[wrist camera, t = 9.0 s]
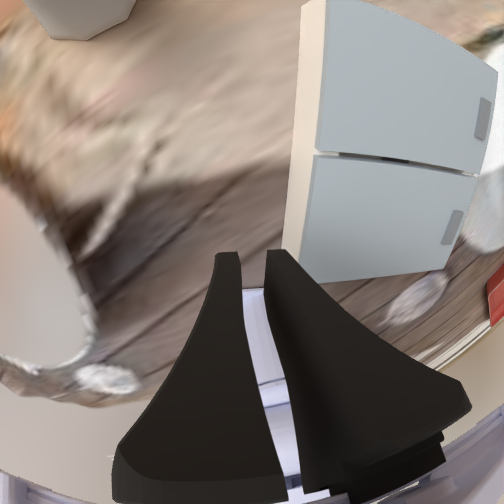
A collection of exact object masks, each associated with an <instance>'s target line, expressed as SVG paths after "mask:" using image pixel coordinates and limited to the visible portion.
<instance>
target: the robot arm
mask: <svg viewBox="0 0 504 504" xmlns="http://www.w3.org/2000/svg"><path fill="white" fill-rule="evenodd" d="M471 408H472V405H471V403H470V401H469V398H468V396H467V394H466V392H465V390H464V388H463V386H462V384H461V382H460V381H458V380H456V379H454V378H451V377H449V376H447V375H445V374H442V373H440V372H438V371H436V370H434V369H431V368H429V367H428V366H426V365H424V364H422V363H420V362H418V361H417V360H415V359H413V358H411V357H409V356H408V355H406V354H404V353H403V352H401V351H399V350H398V349H396V348H395V347H393V346H392V345H390V344H389V343H387V342H386V341H384V340H383V339H381V338H380V337H378V336H377V335H376V334H374V333H373V332H372V331H370V330H369V329H368V328H366V327H365V326H364V325H363V324H361V323H360V322H359V321H357V320H356V319H355V318H354V317H353V316H351V315H350V314H349V313H348V312H347V311H345V310H344V309H343V308H342V307H341V306H340V305H339V304H338V303H337V302H336V301H335V300H333V299H332V298H331V297H330V296H329V295H328V294H327V293H326V292H325V291H324V290H323V289H322V288H321V287H320V286H319V285H318V284H317V283H316V282H315V281H314V279H313V278H312V277H311V276H310V275H309V274H308V273H307V272H306V271H305V270H304V269H303V268H302V267H301V265H300V264H299V263H298V262H297V261H296V260H295V259H294V258H293V257H292V256H291V254H290V253H289V252H288V251H287V250H286V249H276V250H267V259H266V269H265V280H264V288H255V289H242V276H241V264H240V260H239V256H238V253H237V252H222V253H218V254H216V255H215V264H214V270H213V274H212V278H211V282H210V285H209V288H208V291H207V294H206V297H205V300H204V303H203V306H202V308H201V310H200V313H199V315H198V318H197V320H196V323H195V325H194V327H193V329H192V332H191V334H190V336H189V338H188V340H187V342H186V344H185V346H184V348H183V350H182V352H181V353H180V355H179V357H178V359H177V361H176V362H175V364H174V366H173V368H172V369H171V371H170V373H169V374H168V376H167V378H166V379H165V381H164V382H163V384H162V385H161V387H160V388H159V390H158V391H157V393H156V394H155V396H154V397H153V399H152V400H151V402H150V403H149V405H148V406H147V408H146V409H145V410H144V412H143V413H142V415H141V416H140V417H139V418H138V420H137V421H136V422H135V423H134V425H133V426H132V427H131V428H130V430H129V431H128V432H127V434H126V435H125V436H124V437H123V438H122V440H121V441H120V442H119V444H118V445H117V449H116V452H115V456H114V461H113V467H112V499H113V500H114V501H115V502H117V503H121V504H370V503H372V502H374V501H377V500H380V499H382V498H384V497H386V496H389V495H390V496H389V497H387V498H385V499H383V500H382V501H380V502H378V503H377V504H496V503H497V502H498V500H499V499H500V497H501V496H502V494H503V493H504V404H503V405H501V406H500V407H498V408H497V409H495V410H494V411H493V412H491V413H490V414H489V415H487V416H486V417H485V418H483V419H482V420H481V421H479V422H478V423H477V424H476V426H475V427H473V428H472V429H470V430H469V431H467V432H466V433H464V434H463V435H461V436H460V437H458V438H457V439H455V440H454V441H452V442H451V443H449V444H448V445H446V446H444V447H443V448H442V447H441V445H440V442H442V441H444V436H443V433H442V430H444V429H445V428H447V427H448V426H450V425H452V424H453V423H454V422H456V421H457V420H459V419H460V418H462V417H463V416H464V415H466V414H467V413H468V412H469V411H471ZM417 481H419V483H418V485H416V486H413V487H410V488H407V489H405V490H401V489H403V488H405V487H407V486H409V485H411V484H413V483H415V482H417ZM399 490H401V491H399ZM397 491H399V492H397ZM395 492H396V493H395ZM393 493H394V494H393ZM391 494H392V495H391ZM0 504H95V503H90V502H87V501H83V500H79V499H76V498H72V497H69V496H66V495H62V494H59V493H56V492H53V491H52V490H51V489H48V488H46V487H43V486H40V485H38V484H35V483H33V482H30V481H28V480H25V479H23V478H20V477H16V476H14V475H11V474H9V473H7V472H5V471H3V470H1V469H0Z"/></svg>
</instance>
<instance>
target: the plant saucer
mask: <svg viewBox="0 0 504 504" xmlns="http://www.w3.org/2000/svg"><path fill="white" fill-rule="evenodd" d="M487 296H488V305H489V316H490V327H493V326H494V325H495V324H496V323H497V322H498V321H499V320H500V319H501V318H502V317H503V316H504V263H503V265H502V266H501V267H500V268H499V269H498V270H497V271H496V272H495V273H494V274H493V275H492V277H491V278H490V279H489V280H488V281H487Z"/></svg>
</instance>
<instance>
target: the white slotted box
mask: <svg viewBox="0 0 504 504" xmlns="http://www.w3.org/2000/svg"><path fill="white" fill-rule="evenodd" d="M325 6H326V0H311V1H309V2H308V3H306V4H304V5H303V6H301V23H300V43H299V60H298V76H297V90H296V103H295V116H294V128H293V140H292V151H291V162H290V172H289V182H288V192H287V202H286V211H285V220H284V229H283V238H282V246H281V248H282V249H286V250H287V251H288V252H289V253H290V254H291V256H292V257H293V258H294V259H295V260H296V261H297V262H298V258H299V252H300V246H301V240H302V234H303V227H304V221H305V214H306V208H307V201H308V194H309V186H310V179H311V171H312V163H313V155H314V154H315V155H331V156H344V157H355V158H366V159H375V160H383V161H391V162H399V163H406V164H412V165H419V166H425V167H430V168H436V169H441V170H447V171H452V172H457V173H461V174H466V175H470V176H473V175H474V173H471V172H466V171H462V170H458V169H453V168H448V167H443V166H438V165H433V164H428V163H422V162H416V161H410V160H404V159H397V158H390V157H382V156H374V155H366V154H356V153H346V152H334V151H319V150H317V149H316V148H315V138H316V129H317V120H318V110H319V99H320V88H321V76H322V63H323V48H324V30H325Z"/></svg>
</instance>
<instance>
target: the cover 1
mask: <svg viewBox="0 0 504 504" xmlns="http://www.w3.org/2000/svg"><path fill="white" fill-rule="evenodd" d="M497 79H498V72H497V71H496V70H495V69H493V68H492V67H491V66H489V65H488V64H486V63H485V62H484V61H482V60H481V59H479V58H478V57H476V56H475V55H473V54H472V53H470V52H469V51H467V50H466V49H464V48H462V47H461V46H459V45H458V44H456V43H454V42H452V41H451V40H449V39H447V38H446V37H444V36H442V35H440V34H438V33H436V32H434V31H433V30H431V29H429V28H427V27H425V26H423V25H421V24H418V23H416V22H414V21H412V20H410V19H408V18H405V17H403V16H401V15H398V14H396V13H393V12H391V11H388V10H386V9H383V8H380V7H378V6H375V5H372V4H369V3H366V2H363V1H360V0H326V6H325V30H324V48H323V63H322V76H321V88H320V99H319V110H318V120H317V129H316V138H315V148H316V149H317V150H319V151H334V152H346V153H356V154H366V155H374V156H382V157H390V158H397V159H404V160H410V161H416V162H422V163H428V164H433V165H438V166H443V167H448V168H453V169H458V170H462V171H466V172H471V173H475V174H479V175H480V171H481V168H482V164H483V160H484V156H485V152H486V148H487V144H488V139H489V134H490V129H491V124H492V118H493V112H494V105H495V98H496V89H497Z"/></svg>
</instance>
